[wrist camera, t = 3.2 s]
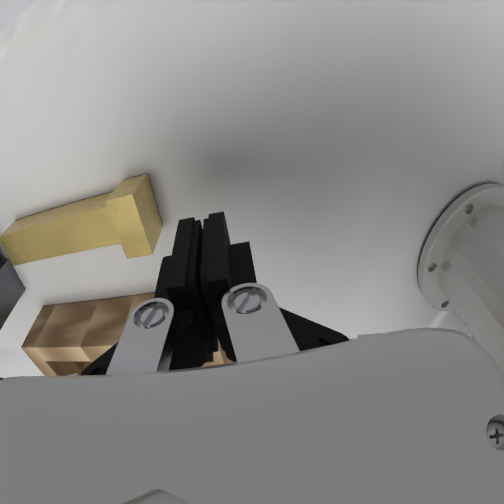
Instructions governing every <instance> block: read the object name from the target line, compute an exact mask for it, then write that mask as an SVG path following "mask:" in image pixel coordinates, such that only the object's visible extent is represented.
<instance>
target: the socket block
mask: <svg viewBox="0 0 504 504" xmlns="http://www.w3.org/2000/svg"><path fill="white" fill-rule="evenodd" d="M24 291H25V288H24V286H23V284H22V282H21V281H20V279H19V277H18V275H17V274H16V272H15V270H14V268H13V266H12V264H11V262H10V261H9V259H7V260H3V261H0V329H1V328H2V326H3V324H4V323H5V321H6V319H7V318H8V316H9V314H10V313H11V311H12V310H13V308H14V306H15V305H16V303H17V302H18V300H19V299H20V297H21V295H22V294H23V292H24Z"/></svg>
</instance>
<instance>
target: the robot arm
mask: <svg viewBox="0 0 504 504" xmlns="http://www.w3.org/2000/svg"><path fill="white" fill-rule="evenodd" d="M418 282H419V287H420V290H421V292H422V294H423V296H424V297H425V298H426V300H427V301H428V303H429V304H430V305H432V306H433V307H434V308H436V309H438V310H442V311H454V310H455V311H456V312H457V314H458V315H459V317H460V318H461V320H462V321H463V323H464V324H465V326H466V327H467V329H468V330H469V332H470V333H471V335H472V336H473V338H474V339H475V340H474V339H473V338H472V337H470V336H469V335H467V334H464V333H462V332H460V331H455V330H450V329H443V328H417V329H405V330H399V331H393V332H387V333H380V334H364V335H358V336H357V339H348V338H347V337H346V336H345V335H343V334H341V333H339V332H337V331H334V330H332V329H330V328H327V327H325V326H322V325H320V324H317V323H315V322H313V321H310V320H308V319H306V318H303V317H301V316H298V315H296V314H294V313H291V312H289V311H287V310H284V309H282V308H280V307H278V305H277V303H276V301H275V299H274V297H273V295H272V293H271V291H270V290H269V289H268V288H267V287H265V286H264V285H261V284H257V281H256V276H255V271H254V265H253V260H252V254H251V249H250V243H249V242H243V243H238V244H232V245H231V244H230V239H229V235H228V230H227V225H226V220H225V216H224V212H218V213H213V214H209V218H207V219H204V224H203V229H202V225H201V221H200V220H197V221H195V219H194V217H192V218H187V219H182V220H179V223H178V227H177V232H176V237H175V242H174V247H173V252H172V255H171V256H166V257H163V260H162V264H161V268H160V272H159V277H158V282H157V286H156V291H155V296H154V298H153V299H149V300H146V301H144V302H142V303H141V304H139V305H138V306H137V307H136V308H135V309H134V310H133V311H132V313H131V314H130V316H129V319H128V321H127V323H126V326H125V328H124V330H123V333H122V335H121V337H120V340H119V341H118V342H117V343H116V344H115V345H113V346H112V347H111V348H110V349H108V350H107V351H106V352H105V353H103V354H102V355H101V356H100V357H98V358H97V359H96V360H95V361H93V362H92V363H91V364H90V365H88V366H87V367H86V368H85V369H84V370H83V371H82V372H81V374H80V375H78V374H77V373H75V374H71V375H67V376H22V377H10V378H5V379H1V380H0V504H504V187H503V186H502V185H498V184H494V183H491V184H483V185H480V186H477V187H474V188H472V189H470V190H469V191H467V192H465V193H464V194H462V195H461V196H460V197H459V198H458V199H456V200H455V201H454V202H453V203H452V204H451V205H450V206H449V207H448V208H447V209H446V211H445V212H444V213H443V214H442V215H441V217H440V218H439V220H438V221H437V222H436V224H435V225H434V227H433V229H432V231H431V233H430V234H429V236H428V238H427V240H426V243H425V245H424V248H423V250H422V253H421V257H420V261H419V265H418ZM218 339H219V342H220V345H221V348H222V350H223V351H225V354H226V357H227V358H228V359H229V360H231V361H233V362H234V363H227V364H220V365H213V366H205V367H201V366H202V365H204V364H205V363H207V362H214V359H213V352H218Z"/></svg>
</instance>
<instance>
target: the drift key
mask: <svg viewBox="0 0 504 504" xmlns="http://www.w3.org/2000/svg"><path fill="white" fill-rule="evenodd" d="M162 227H163V225H162V222H161V219H160V216H159V212H158V209H157V206H156V202H155V199H154V196H153V192H152V189H151V185H150V182H149V178H148V174H145V175H141V176H136V177H132V178H128V179H124V180H123V181H122V182H121V183H120V184H119V185H118V186H117V188H116V189H115V190H114V191H113V192H111V193H107V194H103V195H99V196H95V197H92V198H88V199H85V200H81V201H77V202H74V203H70V204H67V205H64V206H60V207H57V208H54V209H50V210H47V211H44V212H41V213H38V214H34V215H31V216H28V217H25V218H22V219H19V220H16V221H15V222H14V223H13V224H12V225H10V226H9V227H8V228H7V229H6V230H5V231H4V232H3V233H2V234H1V235H0V241H1V243H2V246H3V248H4V250H5V252H6V254H7V256H8V257H9V259H10V261H11V263H12V265H13V266H14V265H19V264H23V263H28V262H32V261H37V260H42V259H46V258H51V257H56V256H60V255H65V254H70V253H75V252H80V251H85V250H90V249H95V248H100V247H105V246H110V245H115V244H120V243H121V245H122V247H123V250H124V252H125V255H126V257H127V258H133V257H139V256H145V255H151V254H153V252H154V249H155V246H156V243H157V241H158V238H159V235H160V233H161V230H162Z"/></svg>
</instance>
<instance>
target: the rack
mask: <svg viewBox="0 0 504 504" xmlns="http://www.w3.org/2000/svg"><path fill="white" fill-rule="evenodd" d="M154 296H155V293H147V294H140V295H132V296H124V297H116V298H108V299H100V300H91V301H83V302H74V303H65V304H56V305H47V306H43V307H42V309H41V311H40V313H39V315H38V316H37V318H36V320H35V322H34V324H33V326H32V327H31V329H30V331H29V333H28V335H27V337H26V339H25V341H24V343H23V345H22V347H21V348H22V349H23V350H24V351H25V353H26V354H27V355H28V356H29V358H30V359H31V360H32V361H33V362H34V364H35V365H36V366H37V367H38V368H39V369H40V370H41V372H42V373H43V374H44V375H45V376H67V375H71V374H75V373H77V374H78V375H80V374H81V372H82V371H83V370H84V369H85V368H86V367H87V366H88V365H90V364H91V363H92V362H93V361H95V360H96V359H97V358H98V357H100V356H101V355H102V354H103V353H105V352H106V351H107V350H108V349H110V348H111V347H112V346H113V345H115V344H116V343H117V342H118V341H119V340H120V337H121V335H122V333H123V330H124V328H125V326H126V323H127V321H128V319H129V316H130V314H131V313H132V311H133V310H134V309H135V308H136V307H137V306H138V305H139V304H141V303H142V302H144V301H146V300H149V299H153V298H154ZM213 359H214V362H207V363H205V364H204V365H202V366H201V367H205V366H213V365H220V364H227V363H234V362H233V361H231V360H229V359H228V358H227V357H226V354H225V351H223V350H222V348H221V345H220V342H219V339H218V352H213Z"/></svg>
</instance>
